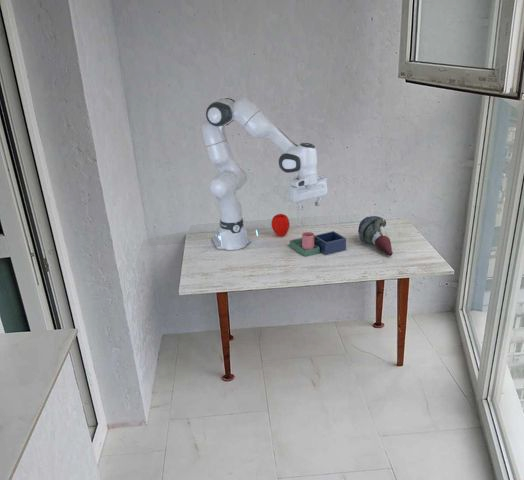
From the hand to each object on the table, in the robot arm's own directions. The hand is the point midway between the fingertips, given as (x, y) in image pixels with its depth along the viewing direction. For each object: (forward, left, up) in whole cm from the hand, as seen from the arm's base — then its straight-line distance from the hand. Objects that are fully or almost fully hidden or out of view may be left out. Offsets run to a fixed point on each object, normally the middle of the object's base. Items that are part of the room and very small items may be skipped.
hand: (309, 207), depth 275 cm
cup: (-1, 0, -23) cm, 23 cm away
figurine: (+12, +36, -24) cm, 45 cm away
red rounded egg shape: (-29, -2, -24) cm, 37 cm away
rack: (-5, 0, -23) cm, 24 cm away
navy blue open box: (+1, +11, -23) cm, 26 cm away
